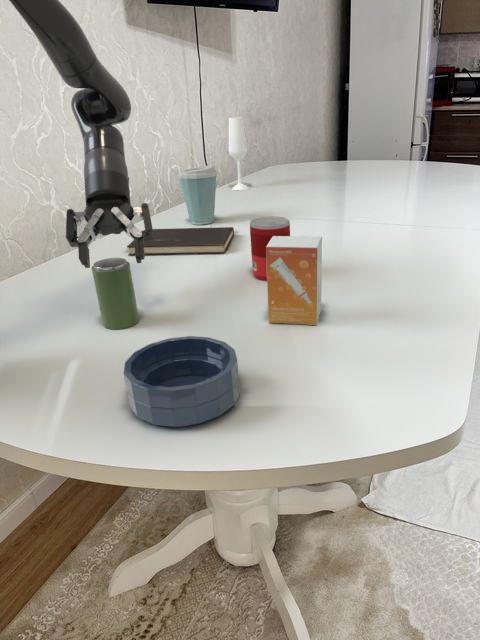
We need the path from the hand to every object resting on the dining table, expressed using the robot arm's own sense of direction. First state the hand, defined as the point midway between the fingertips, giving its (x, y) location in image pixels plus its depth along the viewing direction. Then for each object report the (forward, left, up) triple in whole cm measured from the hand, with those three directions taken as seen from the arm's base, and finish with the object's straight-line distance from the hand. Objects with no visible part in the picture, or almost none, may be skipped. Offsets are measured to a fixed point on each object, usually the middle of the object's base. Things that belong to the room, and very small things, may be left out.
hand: (112, 263), depth 88 cm
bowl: (+10, -30, -9) cm, 33 cm away
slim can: (0, -3, -9) cm, 10 cm away
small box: (+29, -9, -9) cm, 32 cm away
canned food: (+29, +13, -9) cm, 33 cm away
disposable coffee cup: (+18, +63, -9) cm, 66 cm away
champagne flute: (+35, +110, -9) cm, 115 cm away
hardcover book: (+12, +41, -9) cm, 43 cm away
